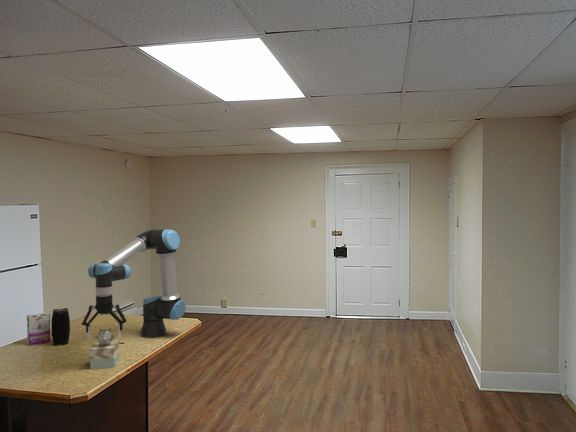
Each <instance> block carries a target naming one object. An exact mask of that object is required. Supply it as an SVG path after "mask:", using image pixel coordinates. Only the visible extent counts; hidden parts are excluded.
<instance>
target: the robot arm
mask: <svg viewBox="0 0 576 432" xmlns="http://www.w3.org/2000/svg"><path fill="white" fill-rule="evenodd" d="M180 244H181V240H180V236H179V234H178V232H176V231H175V230H174V229H167V228H166V229H165V228H164V229H159V228H158V229H149V230H146V231H143V232H141V233H139V234H138V235H137V236H135V237H133V238H132V239H131V241H130V242H129V243H128V244H125V246H123V247H122V248H120V249H119V250H117V251H115V252H114V253H113V254H111V255H109V256H108V257H107V258H105V259H103V260H102V261H101V262H99V263H92V264H90V265H89V267H88V269H87V274H88V276H89V277H90V278H92V279H95V295H96V296H95V305H93V304H91V305H89V307H88V310H87V313H86V314H85V316H84V319H83V320H82V322H81V326H85V332H86V334H87V333H88V335H87V337H88V341H90V340H91V339H92V324H91V323H92V322H93V321H94V320H95V318H96V317H97V316H98V315H108V314H109V315H110V316H112V318H114V320H115V321H116V322H117V323H118V324H117V338H118V339H120V338H121V335H122V334H121V331H123V329H124V328H123V326H124V325H123V324H126V322H127V318H126V317H125V314H124V313H123V311H122V310H121V307H120V303H116V304H113V295H112V294H113V282H117V281H121V280H125V279H128V278H130V277H131V274H132V270H131V267H130V266H129V265H127V264H125V263H126V262H128V261H129V260H131V259H132V258H134V257H135V256H136V255H139V253H144V252H145V251H147V250H155V253H156V255H157V256H158V257H159V271H160V278H161V279H160V280H161V289H162V295H160V294H157V295H152V296H148V297H144V298H143V300H142V303H143V304H142V318H143V323H142V326H141V329H140V332H139V333H140V336H141V337H143V338H158V336H159V337H163V336H165V335H166V334H167V328H166V325H165V322H164V319H166V320H171V321H174V320H175V321H177V320H180V319H181V318H182V317H183V316H184V314H185V312H186V302H185V300H183V299H181V298H182V296H181V294H180V293H178V285H177V284H178V282H177V281H178V280H177V271H176V262H175V254H176V253H177V249H179V247H180ZM94 309H95V310H96V312H95V313H94V314H93V315H92V317H91V318H90V319H89V317H90V315H91V313H92V311H94ZM113 309H115V310H116V311H117V314H116V312H115V311H114V310H113ZM118 315H119V316H118ZM88 319H89V320H88ZM87 321H88V322H87ZM162 335H163V336H162Z"/></svg>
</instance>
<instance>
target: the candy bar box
mask: <svg viewBox="0 0 576 432" xmlns="http://www.w3.org/2000/svg"><path fill="white" fill-rule="evenodd" d="M26 327H27V328H26V329H27V330H26V332H27V338H26V339H27V345H28V346H34V345H35V346H36V345H40V344H45V343H49V342H51V315H50V313H49V312H42V313H35V314H29V315H28V314H27V315H26Z"/></svg>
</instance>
